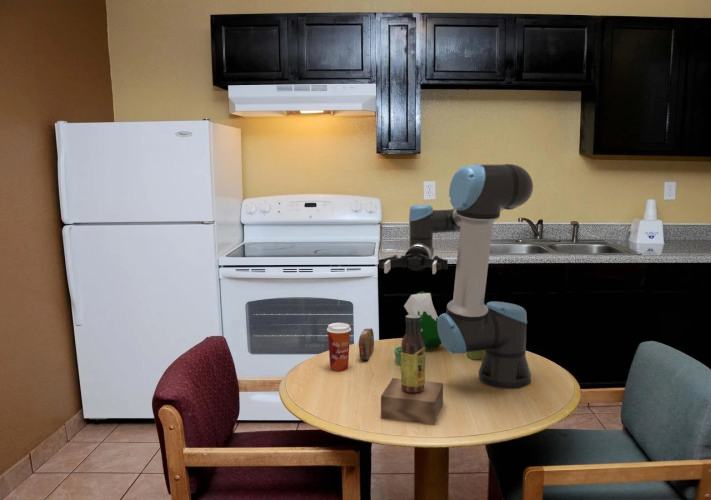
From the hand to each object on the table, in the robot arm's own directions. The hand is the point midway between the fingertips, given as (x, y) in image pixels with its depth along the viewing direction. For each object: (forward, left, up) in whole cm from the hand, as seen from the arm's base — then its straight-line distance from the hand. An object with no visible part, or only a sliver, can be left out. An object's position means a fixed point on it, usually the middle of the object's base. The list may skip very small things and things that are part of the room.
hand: (409, 268), depth 167 cm
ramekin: (+5, -22, -36) cm, 42 cm away
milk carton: (-1, -36, -33) cm, 49 cm away
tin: (+20, -25, -36) cm, 48 cm away
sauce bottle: (-4, +14, -30) cm, 33 cm away
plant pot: (-16, -33, -36) cm, 51 cm away
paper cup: (+25, -11, -36) cm, 45 cm away
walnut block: (-4, +14, -36) cm, 38 cm away
